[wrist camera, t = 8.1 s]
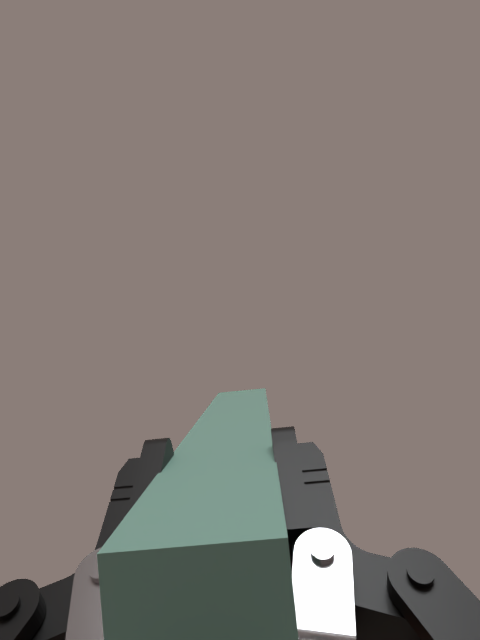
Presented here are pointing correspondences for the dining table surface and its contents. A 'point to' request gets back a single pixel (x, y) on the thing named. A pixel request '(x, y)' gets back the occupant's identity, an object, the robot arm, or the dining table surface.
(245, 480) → the rod
